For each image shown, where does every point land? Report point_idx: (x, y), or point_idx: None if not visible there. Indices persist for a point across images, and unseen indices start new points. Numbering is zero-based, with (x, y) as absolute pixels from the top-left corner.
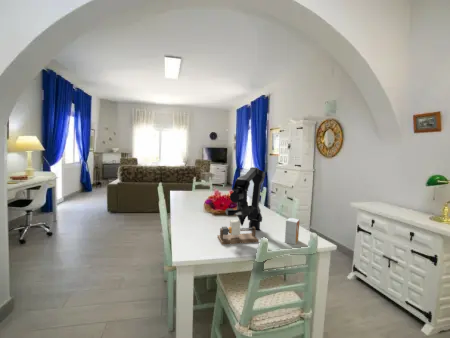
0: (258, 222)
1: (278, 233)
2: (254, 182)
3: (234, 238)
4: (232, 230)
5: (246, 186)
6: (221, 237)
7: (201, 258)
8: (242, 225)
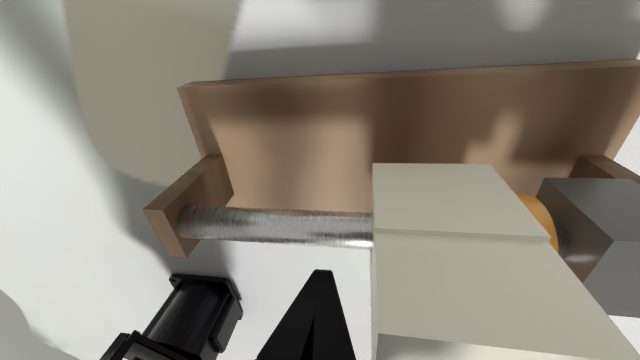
0: (151, 333)
1: (57, 218)
2: None
3: (427, 155)
4: (509, 203)
5: None
6: (617, 166)
7: None
8: (316, 270)
